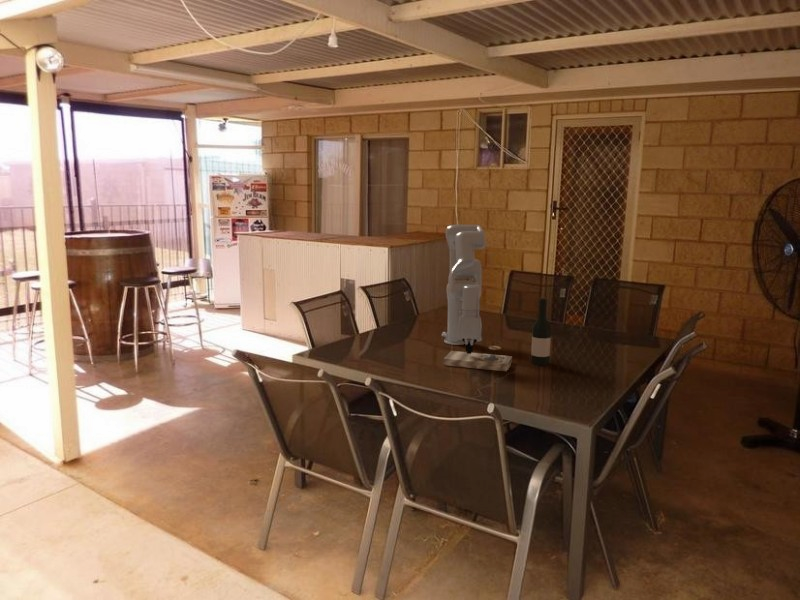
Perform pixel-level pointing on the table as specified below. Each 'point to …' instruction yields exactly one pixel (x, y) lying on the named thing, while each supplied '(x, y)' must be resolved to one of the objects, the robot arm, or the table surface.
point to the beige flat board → (477, 361)
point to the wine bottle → (541, 337)
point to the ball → (491, 357)
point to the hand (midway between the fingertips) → (469, 352)
